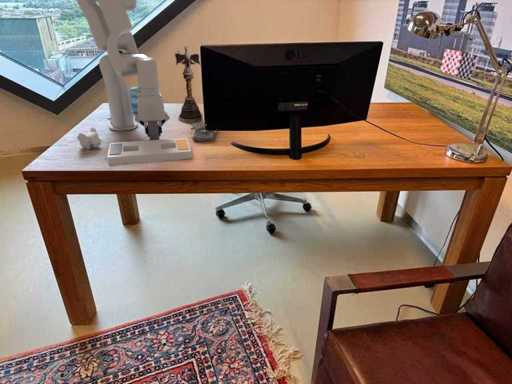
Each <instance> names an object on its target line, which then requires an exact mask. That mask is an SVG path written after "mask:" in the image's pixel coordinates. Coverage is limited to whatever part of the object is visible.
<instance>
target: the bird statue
mask: <svg viewBox="0 0 512 384" xmlns="http://www.w3.org/2000/svg"><path fill="white" fill-rule="evenodd" d="M180 51H181V50H180V49H179V48H177V51H176V52H174V57H175V62H176V63H175V65H176V66H177V65H178V64H181V65H184V69H183V72H182V75H183V79H184V80H185V82H186V83H185V89H186V94H187V95H186V97H184V103H183V105H182V107H181V109H180V110H181V111H180V113H179V115H178V121H179V122H182V123H185V124H186V123H189V124H192V123H199V122H201V120H203V114H202V113H201V110H200V106H199V105H198V104H197V102H196V100H195V98H194V96H193V91H192V90H193V87H192V80H193V79H194V72H193V70H192V68H191V65H196V64H198V65H200V66H201V62H200V54H199V53H197V52H195V53H189V47H188V46H187V45H184V52H185V53H180Z"/></svg>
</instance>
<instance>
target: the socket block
mask: <svg viewBox="0 0 512 384" xmlns="http://www.w3.org/2000/svg"><path fill="white" fill-rule="evenodd" d="M191 149H192V148H191V147H190V143H189V141H188V138H187V137H181V138H166V139H160V140H150V139H149V140H137V141H133V140H132V141H120V142H118V141H117V142H110V143H109V147H108V151H107V163H108V166H113V165H124V164H139V163H140V164H141V163H150V162H151V163H152V162H163V161H175V160H188V159H189V160H190V159H192V150H191Z"/></svg>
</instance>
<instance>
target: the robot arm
mask: <svg viewBox="0 0 512 384" xmlns="http://www.w3.org/2000/svg"><path fill="white" fill-rule="evenodd" d="M76 3H77V5H78V6H79V8H80V10H81V11H82V14H83V15H84V17H85V18H86V21H87V24H88V27H89V30H90V33H91V35H92V38H93V40H94V44H95V46H96V47H97V49H98V50H99V51H100V52H103V53H105V52H107V54H105V55H103V56H101V57H100V59H99V62H98V65H99V69H100V72H101V75H102V78H103V81H104V85H105V92H106V96H107V102H108V109H109V113H110V114H109V115H108V116H107V117H106V120H108V121H109V124H108V128H109V129H110V130H111V131H115V132H125V131H130V130H131V131H132V130H134V129H136V128H137V127H138V126H139V125H138V124H140V125H141V126H143V127H144V133H145V135H147V138H149V131H148V122H147V121H158V129H159V137H161V136H162V135H161V134H163V130H162V129H163V126H164V124H165V123H167V122H168V121H169V120H170V118H171V116H169V114H168V113H167V112H166V110H165V105H164V99H163V95H162V94H161V92H160V86H159V85H160V84H159V75H158V74H159V73H158V66H157V61H156V59H155V58H154V57H149V56H147V55H146V54H143V53H139V50H138V47H137V44H136V41H135V38H134V35H133V33H132V32H131V31H132V29H133V25H132V22H131V20H130V18H129V15H128V13H127V12H133V11H135V10H136V7H137V0H76ZM119 51H121V53H120V52H119ZM132 76H137V83H138V86H137V87H138V88H137V89H135V92H139V94H138V112H136V113H137V114H136V115H135V117H134V115H133V113H134V112H133V111H132V106H131V99H130V92H129V90H130V86H129V85H128V84H127V83H126V81H124V79H123V78H125V77H132Z"/></svg>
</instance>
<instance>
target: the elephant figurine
mask: <svg viewBox="0 0 512 384" xmlns="http://www.w3.org/2000/svg"><path fill="white" fill-rule="evenodd" d="M76 139H77V140H78V142H79V144H80V147H81V148H82V149H86V150H90V149H92V148H97V147H100V146H101V142H102V143H104V141H103V140H102V139H101V138H100V137H99V134H98V132H97V129H96V128H95V127H91V128H90V129H89V132H86V133H84V134H83V133H81V132H80V133H78V135H77V137H76Z"/></svg>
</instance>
